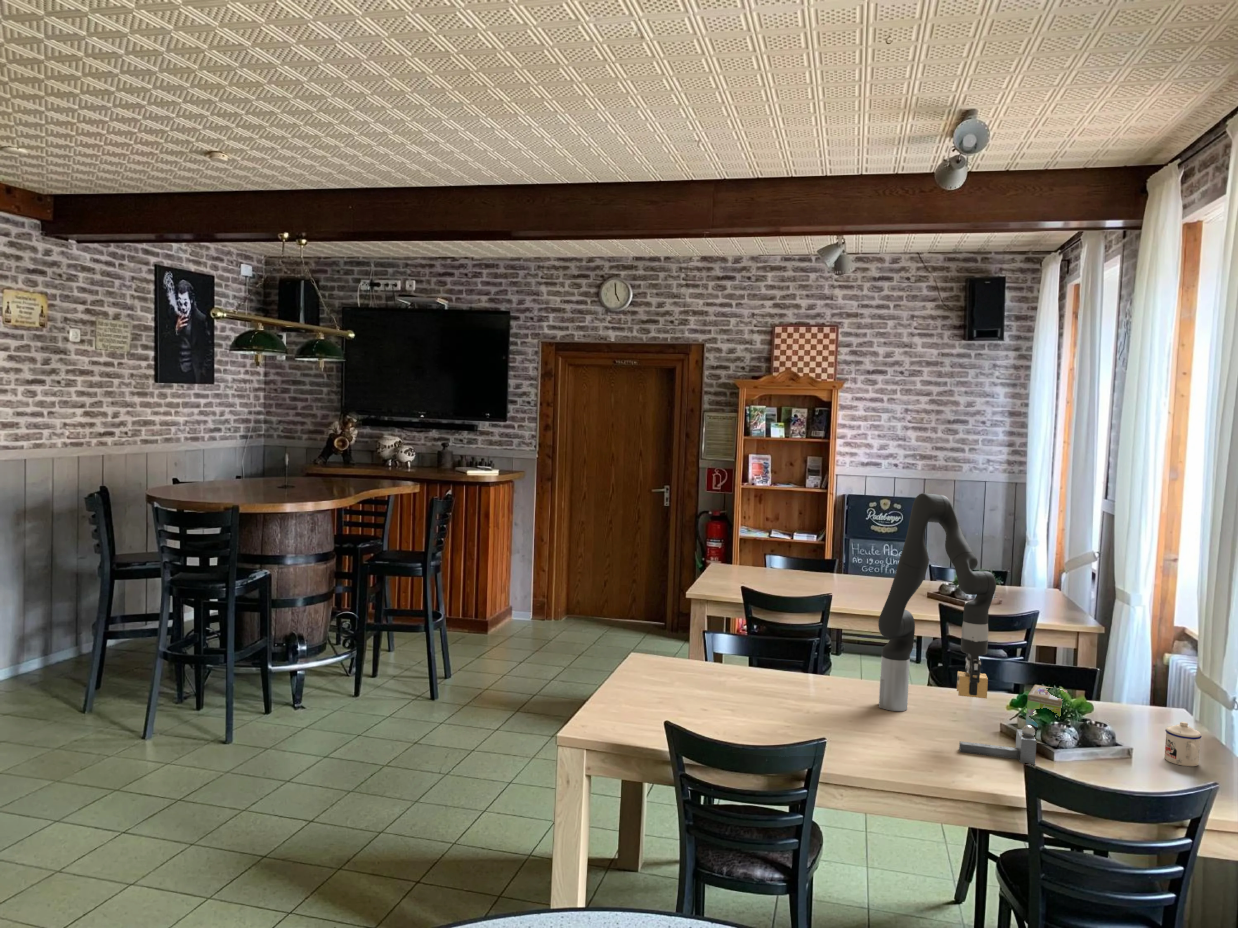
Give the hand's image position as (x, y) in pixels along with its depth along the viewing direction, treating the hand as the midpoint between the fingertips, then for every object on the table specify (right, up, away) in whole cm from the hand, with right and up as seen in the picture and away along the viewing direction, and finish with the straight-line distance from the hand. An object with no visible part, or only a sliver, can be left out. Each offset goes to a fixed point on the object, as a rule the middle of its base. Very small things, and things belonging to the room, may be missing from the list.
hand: (971, 691), depth 283 cm
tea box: (+26, -17, +8) cm, 32 cm away
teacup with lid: (+58, -19, -10) cm, 62 cm away
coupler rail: (+4, -16, -9) cm, 19 cm away
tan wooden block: (0, -1, 0) cm, 1 cm away
